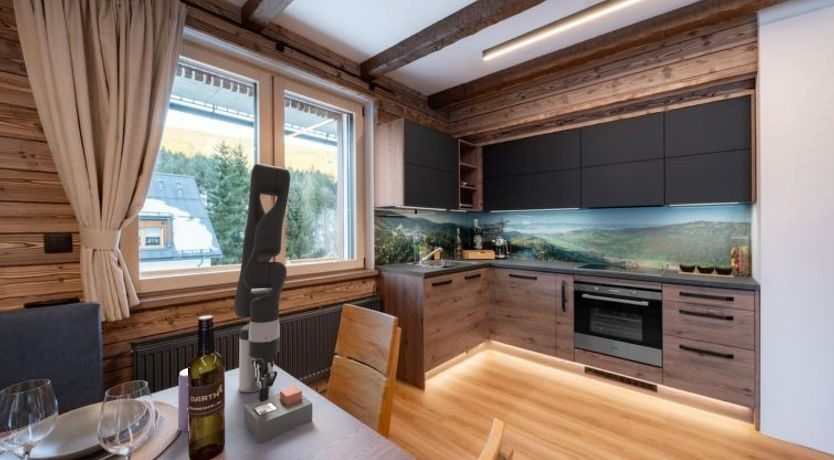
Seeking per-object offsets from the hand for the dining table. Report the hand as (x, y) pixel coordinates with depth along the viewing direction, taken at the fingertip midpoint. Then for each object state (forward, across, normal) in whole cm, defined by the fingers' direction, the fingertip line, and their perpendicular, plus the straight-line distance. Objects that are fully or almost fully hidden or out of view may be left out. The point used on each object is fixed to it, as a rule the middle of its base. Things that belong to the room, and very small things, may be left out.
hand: (263, 400), depth 88 cm
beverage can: (+8, -14, -14) cm, 21 cm away
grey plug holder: (+7, 0, +4) cm, 8 cm away
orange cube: (+4, 0, +7) cm, 9 cm away
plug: (+7, +1, 0) cm, 7 cm away
